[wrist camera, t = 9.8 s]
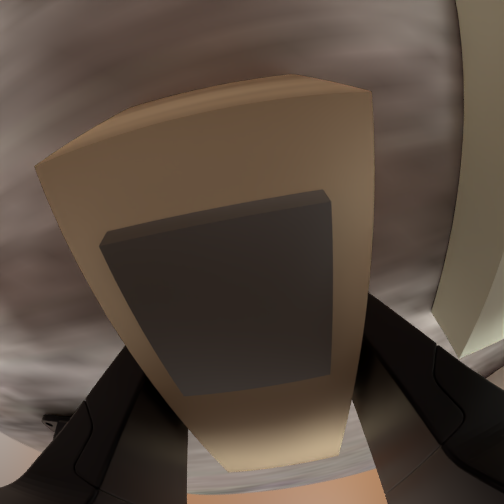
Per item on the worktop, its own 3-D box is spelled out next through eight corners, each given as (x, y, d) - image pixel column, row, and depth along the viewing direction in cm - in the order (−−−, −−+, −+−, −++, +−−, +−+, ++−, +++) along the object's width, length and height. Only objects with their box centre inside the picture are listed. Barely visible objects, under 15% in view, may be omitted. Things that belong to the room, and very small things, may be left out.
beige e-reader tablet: (315, 363, 12) (339, 463, 8) (224, 377, 12) (228, 480, 8) (291, 73, 6) (385, 95, 2) (130, 107, 6) (20, 177, 2)
